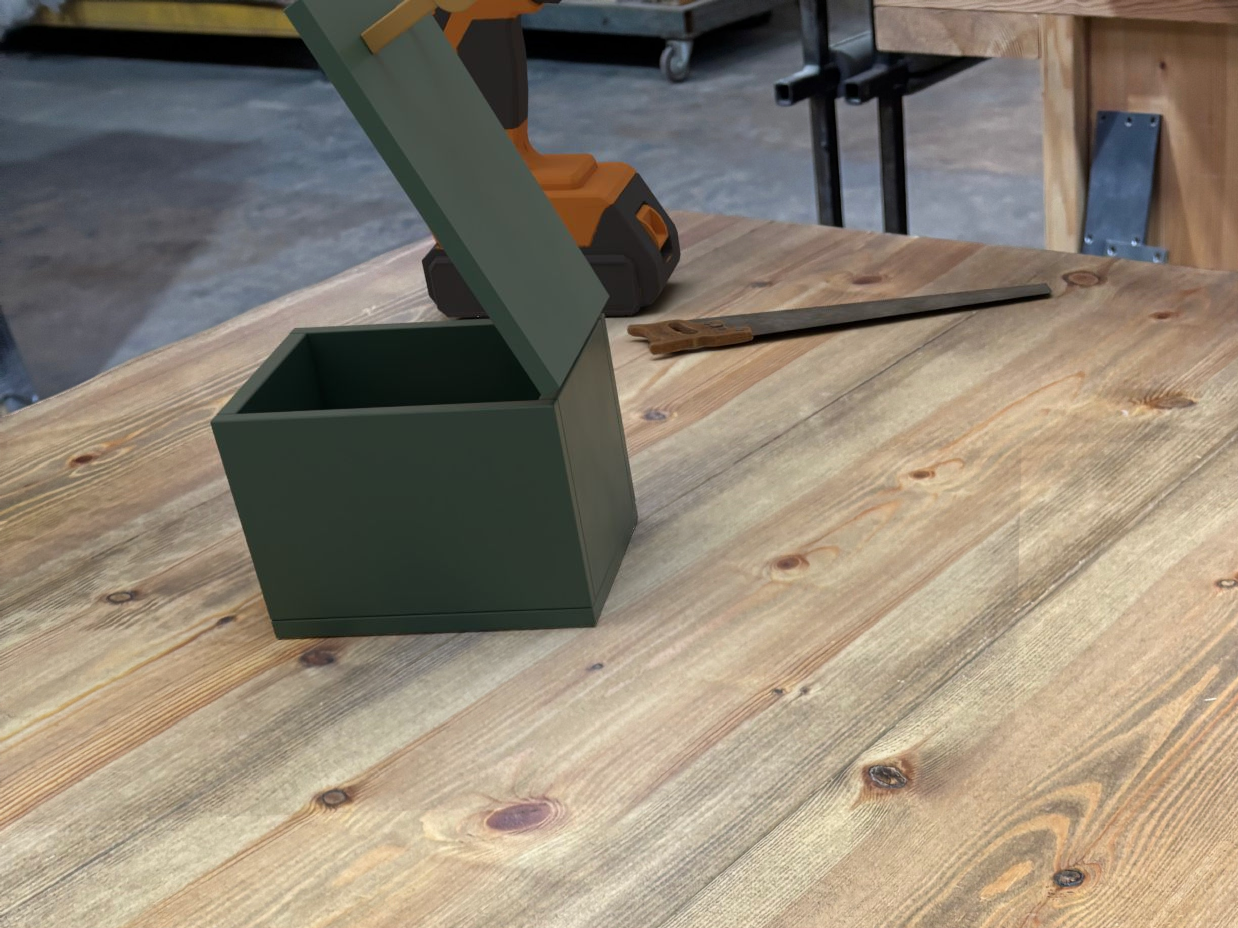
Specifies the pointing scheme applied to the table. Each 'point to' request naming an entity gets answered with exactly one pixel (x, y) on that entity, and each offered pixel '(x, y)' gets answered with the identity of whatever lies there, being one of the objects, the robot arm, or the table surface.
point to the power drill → (557, 176)
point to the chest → (427, 481)
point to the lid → (459, 172)
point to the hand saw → (806, 318)
